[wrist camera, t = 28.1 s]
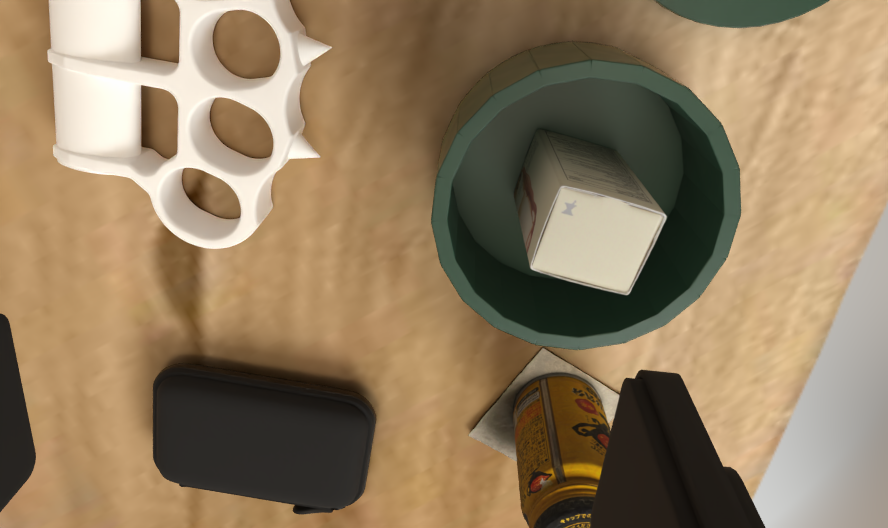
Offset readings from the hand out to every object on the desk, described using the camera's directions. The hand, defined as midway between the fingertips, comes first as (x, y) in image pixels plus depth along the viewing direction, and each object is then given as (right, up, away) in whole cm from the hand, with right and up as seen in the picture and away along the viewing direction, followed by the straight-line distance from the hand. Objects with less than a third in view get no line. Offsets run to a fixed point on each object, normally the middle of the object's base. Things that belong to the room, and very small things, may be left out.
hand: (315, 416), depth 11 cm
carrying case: (-10, -9, +38) cm, 40 cm away
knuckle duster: (-11, +13, +28) cm, 33 cm away
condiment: (+9, -8, +37) cm, 39 cm away
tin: (+9, +8, +29) cm, 32 cm away
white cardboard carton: (+9, +7, +29) cm, 31 cm away
